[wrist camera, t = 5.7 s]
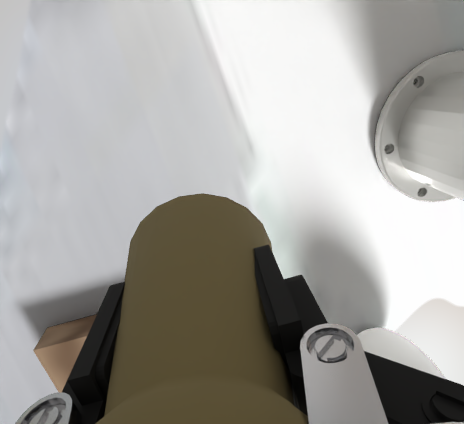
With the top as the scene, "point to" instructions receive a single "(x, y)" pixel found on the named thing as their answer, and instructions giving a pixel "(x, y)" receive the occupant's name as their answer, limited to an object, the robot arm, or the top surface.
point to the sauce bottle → (397, 349)
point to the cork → (197, 323)
